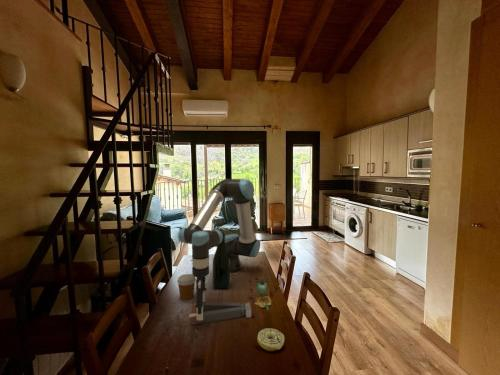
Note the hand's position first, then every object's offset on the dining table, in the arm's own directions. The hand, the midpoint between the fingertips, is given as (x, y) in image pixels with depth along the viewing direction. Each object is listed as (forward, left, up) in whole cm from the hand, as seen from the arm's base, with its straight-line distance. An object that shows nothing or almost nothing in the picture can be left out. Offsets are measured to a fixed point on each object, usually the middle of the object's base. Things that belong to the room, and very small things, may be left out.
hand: (201, 311), depth 112 cm
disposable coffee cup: (-17, -9, -3) cm, 20 cm away
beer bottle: (-29, +9, -3) cm, 31 cm away
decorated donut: (+19, +29, -4) cm, 35 cm away
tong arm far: (-3, +8, -2) cm, 9 cm away
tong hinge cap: (0, +22, -2) cm, 22 cm away
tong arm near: (+3, +8, -2) cm, 9 cm away
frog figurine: (-10, +30, -4) cm, 32 cm away
